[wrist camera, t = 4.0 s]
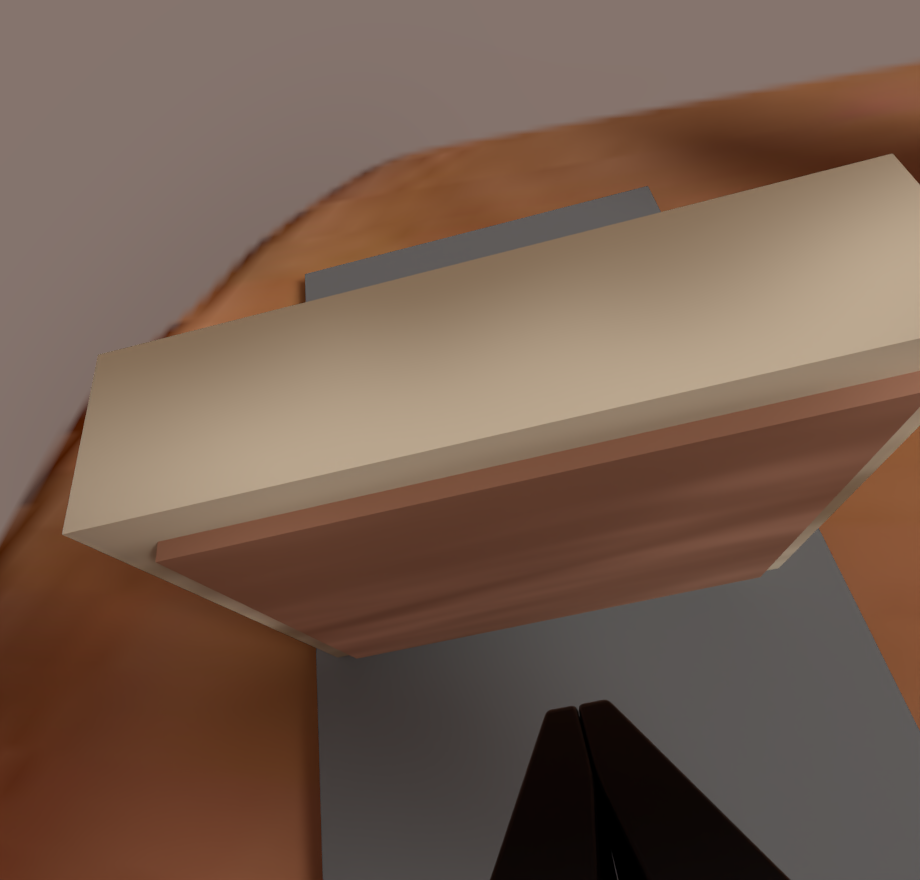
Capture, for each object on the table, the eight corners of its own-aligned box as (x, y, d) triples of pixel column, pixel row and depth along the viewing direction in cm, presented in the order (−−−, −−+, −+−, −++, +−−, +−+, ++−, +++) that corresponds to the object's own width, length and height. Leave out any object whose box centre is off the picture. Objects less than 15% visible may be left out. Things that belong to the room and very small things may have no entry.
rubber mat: (977, 877, 12) (995, 882, 12) (335, 978, 13) (325, 987, 13) (646, 199, 23) (647, 185, 23) (310, 284, 24) (304, 274, 24)
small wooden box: (783, 579, 15) (1049, 332, 7) (338, 668, 16) (57, 556, 7) (733, 467, 17) (892, 153, 8) (333, 554, 18) (97, 354, 9)
